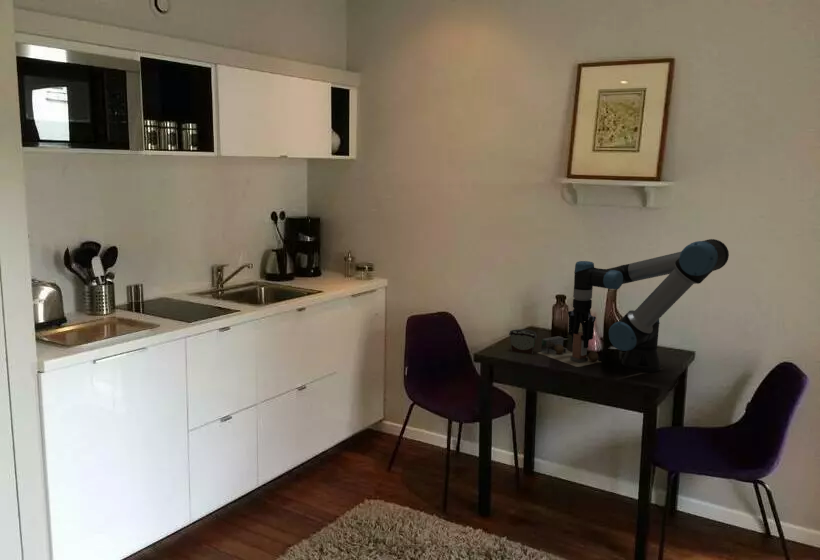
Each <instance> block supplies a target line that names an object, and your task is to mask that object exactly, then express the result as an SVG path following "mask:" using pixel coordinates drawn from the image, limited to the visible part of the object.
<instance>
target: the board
mask: <svg viewBox="0 0 820 560" xmlns="http://www.w3.org/2000/svg"><path fill="white" fill-rule="evenodd" d="M537 354H539V355H542V356H545V357H548V358H551V359H553V360H557V361H559V362H562V363H565V364H568V365H571V366H573V367H576V368H581V367H585V366H589V365H593V364H599V363H602V361H599V359H598V360H597V361H594V362H593V361H590V360H589V358H588V361H586V362H581V363H578V362H575V361H572V360H570V356H572V354H573V353H572V351H570V350H567V353H566V354H565V353H561V354H557V353H556V356H553V355H551V354H545V353H542V352H541V351H540V352H539V351H538V352H537Z"/></svg>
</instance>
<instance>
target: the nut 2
mask: <svg viewBox="0 0 820 560" xmlns="http://www.w3.org/2000/svg"><path fill="white" fill-rule="evenodd" d="M587 357H588V358H589V360H590V361H593V362H594V361H597V360H598V361H599V354H598V352H596V351H595V350H594V351H590V352H589V353H588V354H587Z"/></svg>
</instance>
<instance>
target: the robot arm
mask: <svg viewBox="0 0 820 560" xmlns="http://www.w3.org/2000/svg"><path fill="white" fill-rule="evenodd" d="M729 253H730V252H729V249H728V246H727V245H726V244H725V243H724V242H723V241H721V240H718V239H714V238H710V239H705V240H697V241H694V242H691V243H689V244H687V245H686V246H685V247H684V248H683V249H682V250H681V251H677V252H674V253H669V254H666V255H661V256H657V257H653V258H648V259H644V260H640V261H636V262H632V263H628V264H621V265H617V266H615V267H610V268H600V267H599V268H598V267H595V263H594V262H593V261H588V260H579V261H576V263H575V265H574V271H573V272H574V282H573V294H572V297H573V299H572V308H573V310H570V311H569V310H568V312H567V316H568V332H567V333H568V335H570V336H571V344H572V345H573V335H574V333H579V331H580V327H581V330H582V331H581V333H583V339H582V342H581V356H583V355H586V356H588V354H587V353H588V348H589V341H591V340H593V339H594V330H595V321H596V319H597V318H596V316H594V315H592V313H591V309H592V303H593V300H592V298H593V287H596V288H602V289H608V290H619V289H620V288H621V287H622V286H623V285H624V284H629V283H634V282H638V281H643V280H648V279H651V278H657V277H662V276H666V277H665V278H664V280H662V282H661V283H659V284H658V286H657V287H656V288H655V289H654V290H653V291H652V292H651V293H650V294H649V295H648V297H646V298H645V300H643V302H642V303H641V304H640V305H639V306H637V308H635V310H633V309H632V310H628V311H627V313H626V314H625V315H623V317H621V319H620V320H619V321H616V322H614V323H613V324H612V325H610V327H609V329H608V338H609V342H610V343H611V345H612V346H613V347H614V349H616V350H618V351H621V352H622V351H623V352H624V355H623V357H622V359H621V364H622V366H623V367H626V368H629V369H632V370H638V371H642V373H655V372H658V371H660V370H661V361H660V358H659V354H658V353H659V352H658V343H659V342H658V341H659V330H660V329H659V328H660V324H661V323H660V319H661V317H663V315H664V314H665V313H666V312H667V311H669V309H671V307H673V306H674V305H675V303H677V301H678V300H679V299H680V298H681V297H682V296H683V295H684V294H686V292H687V291H688V290H689V289H690V288H691V287H692V286H693V285H696V284H697V285H699V284H701V283H702V282H703V281H705V279H706V278H707V277H708V276H709V275H711V273H713V272H714V271H717V270H720V269H722V268H723V267H725V266H726V264H727V262H728V260H729V256H730V255H729ZM580 325H581V326H580ZM571 352H572V353H573V349H572V351H571Z"/></svg>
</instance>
